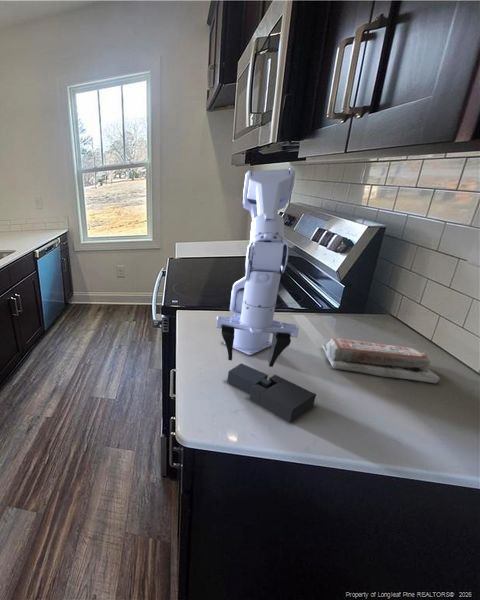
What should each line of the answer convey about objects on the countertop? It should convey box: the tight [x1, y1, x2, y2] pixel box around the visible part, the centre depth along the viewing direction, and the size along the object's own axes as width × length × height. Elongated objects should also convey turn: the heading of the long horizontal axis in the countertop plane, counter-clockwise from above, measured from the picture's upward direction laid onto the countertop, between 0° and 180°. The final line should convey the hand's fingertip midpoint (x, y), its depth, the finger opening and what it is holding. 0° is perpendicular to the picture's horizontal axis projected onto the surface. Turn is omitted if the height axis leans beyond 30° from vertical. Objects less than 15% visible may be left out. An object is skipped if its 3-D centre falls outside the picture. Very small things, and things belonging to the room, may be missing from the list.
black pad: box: [249, 374, 317, 424], centre depth 63 cm, size 8×8×3 cm
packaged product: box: [322, 337, 440, 384], centre depth 73 cm, size 18×5×10 cm
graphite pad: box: [226, 363, 272, 395], centre depth 69 cm, size 5×8×3 cm, turn 34°
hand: (249, 361), depth 68 cm, fingers open, 7 cm apart
